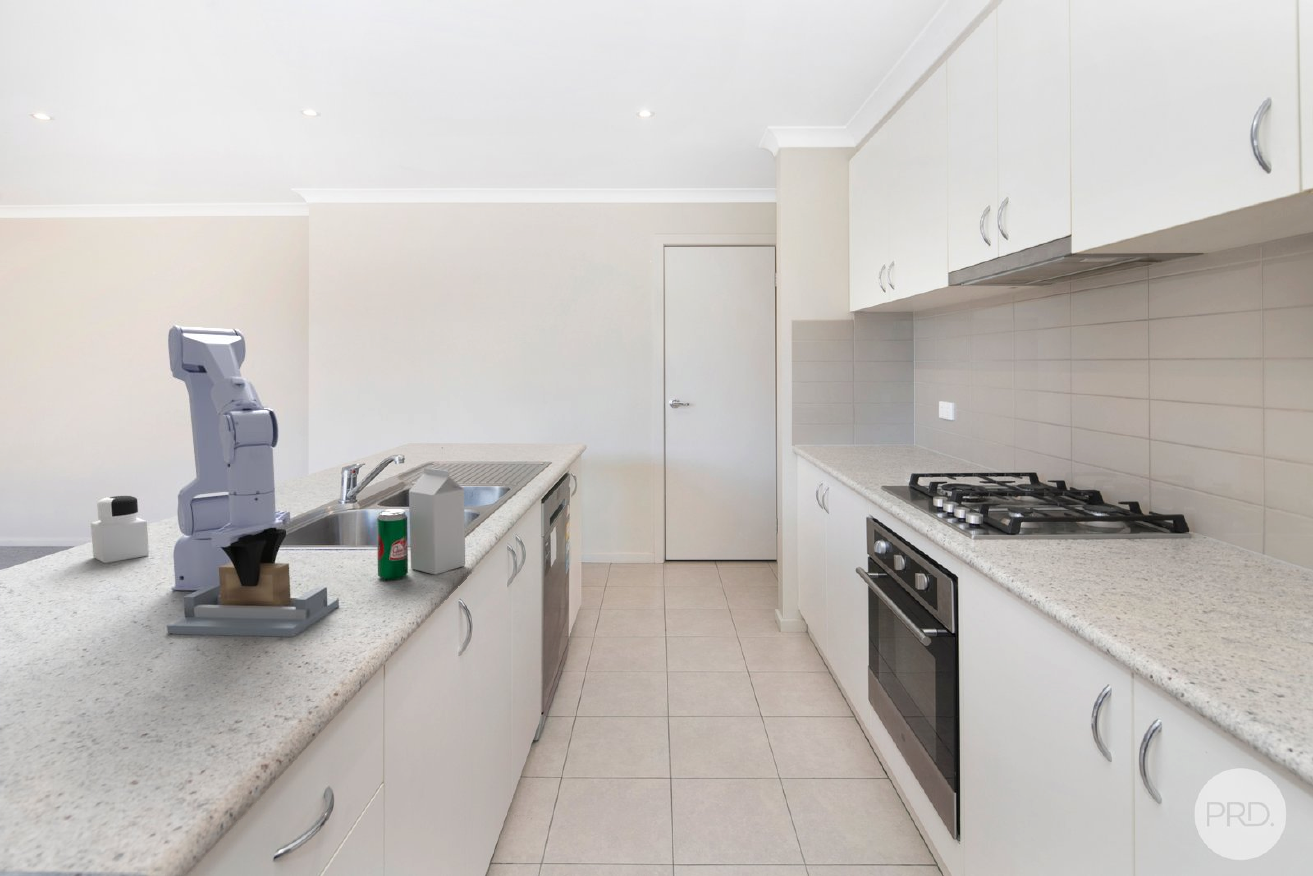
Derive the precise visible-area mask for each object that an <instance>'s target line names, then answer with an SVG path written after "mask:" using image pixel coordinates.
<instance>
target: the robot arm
mask: <svg viewBox="0 0 1313 876" xmlns="http://www.w3.org/2000/svg"><path fill="white" fill-rule="evenodd" d="M167 336H168V337H167V345H168V358H169V366H170V367H169V369H170V371H171V374H172V377H173V378H175V379H178V380H180V381H182V382H184V384H185V386H186V390H187V394H188V400H189V409H190V421H191V431H192V443H193V453H194V463H195V464H194V465H195V473H196V474H195V475H196V477H195V478H194V479H193V480H192V481H190V482H189V483H187V484H186V485H185V486H184V487H182V488H181V490H180V491H179V492H178V494H177V500H178V501H177V522H178V527H179V530H180V532H181V534H183V535H182V536H180V538H179V539H178V540H176V543H175V544H174V547H173V555H172V556H173V567H174V569H173V570H174V586H171V590H172V591H198V590H200V589H202V588H205V587H207V586H209V585H211V584H218V585H220V581H219V567H220V566H223V565H225V564H227V563H230V562H232V563H233V565H234V567H235V570H236V572H237V575H238V578H239V580H240V583H241V586H256V585H258V581H259V574H260V563H276V560H277V559H276V558H277V556H278V553H279V549H280V547H281V545H282V543H283V542H284V540H285V538H286V537H287V530H286V529H283V528H279V527H282V526H283V525H288V524H291V511H290V510H278V511H276V510H277V509H276V508H277V507H276V492H275V489H276V488H275V471H274V470H275V466H274V449H273V448H276V446H277V445H278V442H279V423H278V419H277V416H276V413H275V410H273V409H272V408H269V407H268V406H265V405H262V401H261V400H260V398H259V395H258V393H257V390H256V389H255V386H254V385H253V383H252V382H251V381H249V380H248V379H247V378H244V377H242V374H241V370H240V369H241V367H242V365H243V364H244V361H245V359H246V340H245V337H244V334H243V333H242V332H241V330H239V329H238V328H232V329H227V328H211V327H210V328H209V327H207V328H206V327H190V326H189V327H188V326H180V325H172V327H171V328H170V329H169V331H168V335H167ZM216 493H218V494H219V493H228V494H222V495H213V496H204V497H197V496H199V495H207V494H216Z"/></svg>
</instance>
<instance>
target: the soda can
mask: <svg viewBox="0 0 1313 876" xmlns="http://www.w3.org/2000/svg"><path fill="white" fill-rule="evenodd" d="M378 514H379V515H378V517H376V531H377V532H376V539H377V540H376V541H377V542H376V544H377V547H376V548H377V549H376V550H377V552H376V553H377V554H376V555H377V576H378V577H379V578H380V579H382V580H384V581H397V580H400V579H404V578H405V577H406V576H407V575H408V573H409V557H408V556H409V554H408V553H409V550H408V549H409V547H408V544H409V543H408V541H409V539H408V536H409V535H408V533H409V532H408V528H409V526H408V516H407V514H406V511H405V510H403V509H396V508H395V509H394V508H393V509H384V510H380V511H379V513H378Z"/></svg>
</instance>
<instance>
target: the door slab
mask: <svg viewBox="0 0 1313 876" xmlns="http://www.w3.org/2000/svg"><path fill="white" fill-rule="evenodd" d="M290 579H291V577H290V563H287V562H286V563H284V562H282V563H280V562H279V563H278V562H277V563H276V562H275V563H260V574H259V581H258V585H256V586H241V583H240V580H239V578H238V575H237V572H236V570H235V567H234V565H233V563H232V562H230V563H227V564H225V565H223V566H220V567H219V581H220V598H221V605H235V606H279V607H283V606H285V605H287V604H288V603H290V602H291V597H290V596H291V582H290V581H291V580H290Z"/></svg>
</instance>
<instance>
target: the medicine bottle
mask: <svg viewBox="0 0 1313 876" xmlns="http://www.w3.org/2000/svg"><path fill="white" fill-rule="evenodd" d="M96 504H97V518H98V519H97V521H93V522H91V523H90V528H91V529H90V530H91V543H92V546H91V547H92V556H93V558H95V559H96V560H98V561H100V562H102V563H104V564H108V563H114V562H119V561H125V560H132V559H135V558H142V557H148V556H149V555H150V548H149V547H150V546H149V534H148V533H149V532H148V521H146V520H144V519H142V518H139V517H138V516H139V508H138V507H139V505H138V498H137V497H136V496H135V497H134V496H132V495H116V496H108V497H107V496H106V497H104V498H102V499H99V500H98V501H97V503H96Z"/></svg>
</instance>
